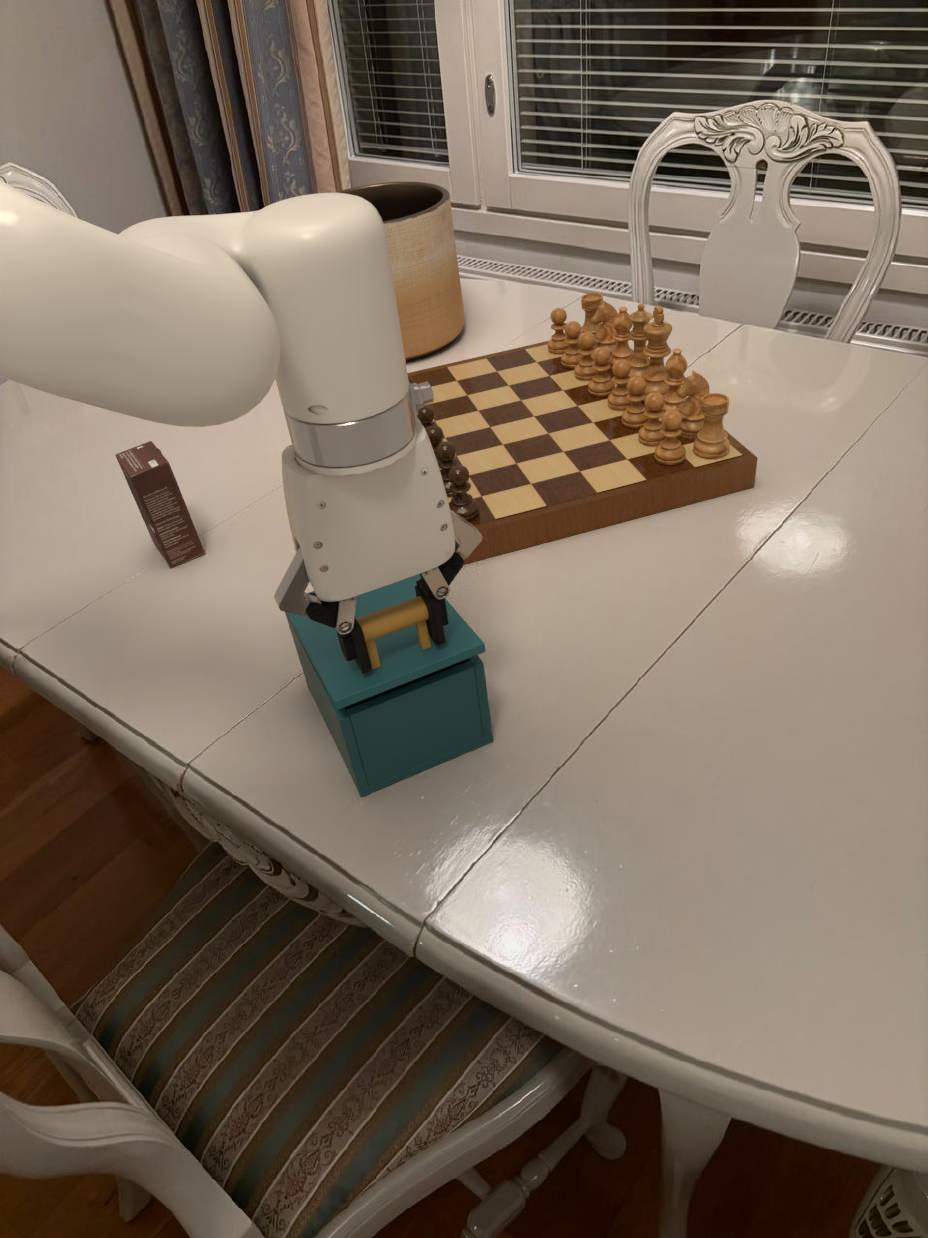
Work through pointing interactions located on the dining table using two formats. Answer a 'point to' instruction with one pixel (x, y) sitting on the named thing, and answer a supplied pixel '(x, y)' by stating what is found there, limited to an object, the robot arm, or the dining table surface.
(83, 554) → the dining table surface
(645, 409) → the chess set
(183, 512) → the box
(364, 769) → the chest
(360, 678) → the lid
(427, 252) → the planter
